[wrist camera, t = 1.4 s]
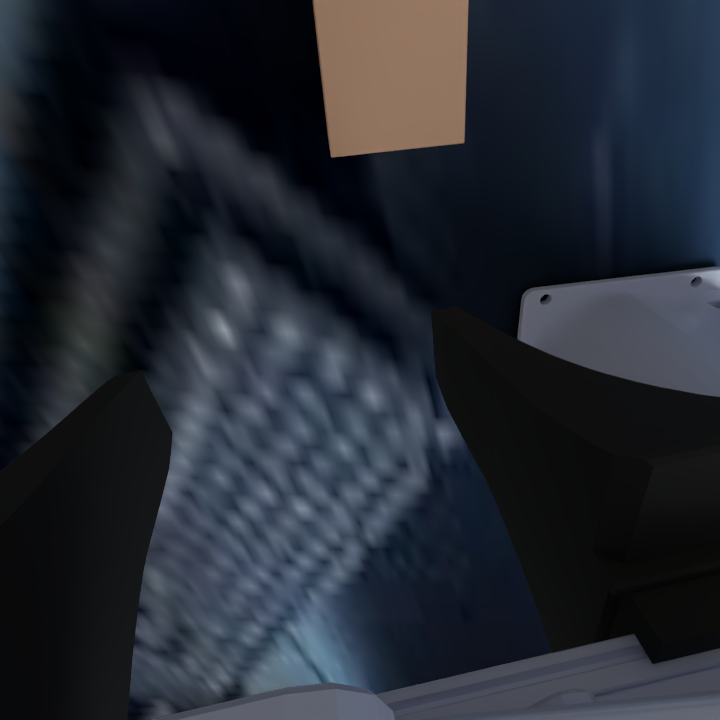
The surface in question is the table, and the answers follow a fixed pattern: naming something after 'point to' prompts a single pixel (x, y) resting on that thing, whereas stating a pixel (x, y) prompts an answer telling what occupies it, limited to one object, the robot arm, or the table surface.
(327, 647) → the table surface
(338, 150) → the keyed block
